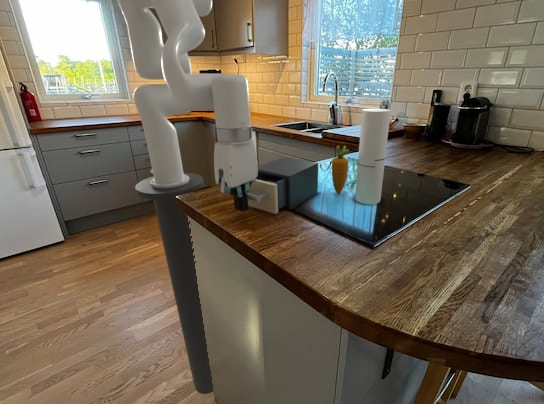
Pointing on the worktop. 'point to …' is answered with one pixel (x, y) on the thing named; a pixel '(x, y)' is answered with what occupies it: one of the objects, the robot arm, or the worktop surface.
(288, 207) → the cabinet
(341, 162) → the carrot
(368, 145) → the cylindrical container
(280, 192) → the drawer
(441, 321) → the worktop surface
